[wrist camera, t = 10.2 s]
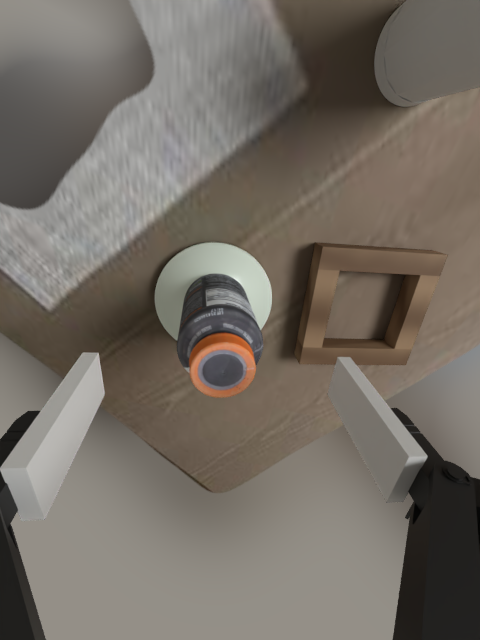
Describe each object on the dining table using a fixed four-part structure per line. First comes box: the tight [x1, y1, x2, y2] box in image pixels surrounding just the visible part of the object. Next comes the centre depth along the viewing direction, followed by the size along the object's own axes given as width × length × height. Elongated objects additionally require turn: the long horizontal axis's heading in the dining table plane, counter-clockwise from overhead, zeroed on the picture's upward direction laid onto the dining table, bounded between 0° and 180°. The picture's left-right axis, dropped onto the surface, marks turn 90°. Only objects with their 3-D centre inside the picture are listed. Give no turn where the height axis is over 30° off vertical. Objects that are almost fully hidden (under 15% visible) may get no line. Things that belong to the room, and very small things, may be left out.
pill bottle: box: [177, 274, 263, 398], centre depth 22 cm, size 6×6×11 cm
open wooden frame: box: [294, 243, 448, 365], centre depth 29 cm, size 12×12×2 cm
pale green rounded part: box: [155, 242, 272, 340], centre depth 27 cm, size 11×11×1 cm
